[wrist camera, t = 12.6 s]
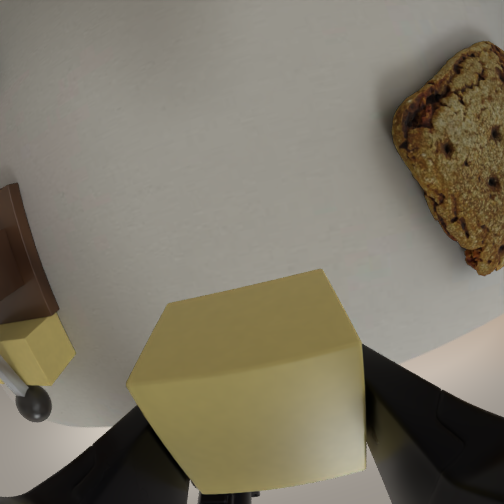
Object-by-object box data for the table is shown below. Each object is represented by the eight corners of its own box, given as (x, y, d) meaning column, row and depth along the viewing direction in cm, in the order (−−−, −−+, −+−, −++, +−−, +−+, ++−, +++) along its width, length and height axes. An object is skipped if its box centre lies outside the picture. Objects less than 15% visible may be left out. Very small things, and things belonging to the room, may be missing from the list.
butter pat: (340, 386, 10) (367, 470, 6) (214, 410, 10) (202, 495, 6) (322, 267, 8) (362, 341, 5) (166, 302, 9) (123, 384, 5)
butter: (76, 353, 21) (51, 386, 17) (24, 357, 22) (0, 383, 18) (55, 310, 20) (24, 338, 16) (5, 319, 21) (-23, 343, 17)
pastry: (531, 272, 19) (552, 284, 16) (368, 261, 19) (386, 279, 16) (548, 84, 14) (570, 82, 11) (385, 4, 14) (403, -15, 11)
